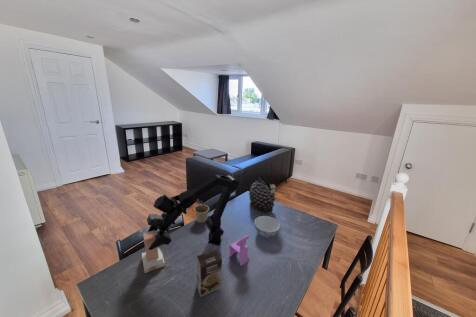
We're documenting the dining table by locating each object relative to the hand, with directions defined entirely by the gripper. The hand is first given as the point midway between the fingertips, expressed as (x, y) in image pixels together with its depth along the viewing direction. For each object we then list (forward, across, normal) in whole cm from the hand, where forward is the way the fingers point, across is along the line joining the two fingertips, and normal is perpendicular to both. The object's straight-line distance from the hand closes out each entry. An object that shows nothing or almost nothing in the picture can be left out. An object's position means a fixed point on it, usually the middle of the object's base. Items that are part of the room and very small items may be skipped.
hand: (147, 242), depth 93 cm
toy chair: (-19, +16, +37) cm, 45 cm away
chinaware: (-36, +8, +55) cm, 66 cm away
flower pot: (-15, -21, +34) cm, 43 cm away
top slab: (+7, 0, +8) cm, 11 cm away
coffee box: (-5, +24, +23) cm, 34 cm away
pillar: (+5, 0, +7) cm, 8 cm away
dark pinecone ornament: (-46, -14, +64) cm, 80 cm away
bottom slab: (+8, 0, +10) cm, 13 cm away
